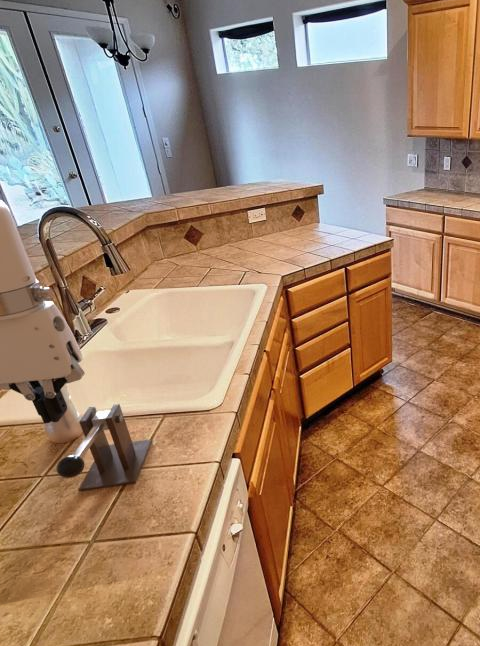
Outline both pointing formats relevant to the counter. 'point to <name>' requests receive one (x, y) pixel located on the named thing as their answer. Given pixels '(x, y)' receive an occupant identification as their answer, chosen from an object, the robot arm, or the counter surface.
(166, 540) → the counter surface
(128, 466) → the bracket
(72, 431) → the plastic bottle
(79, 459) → the tap lever
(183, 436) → the counter surface
